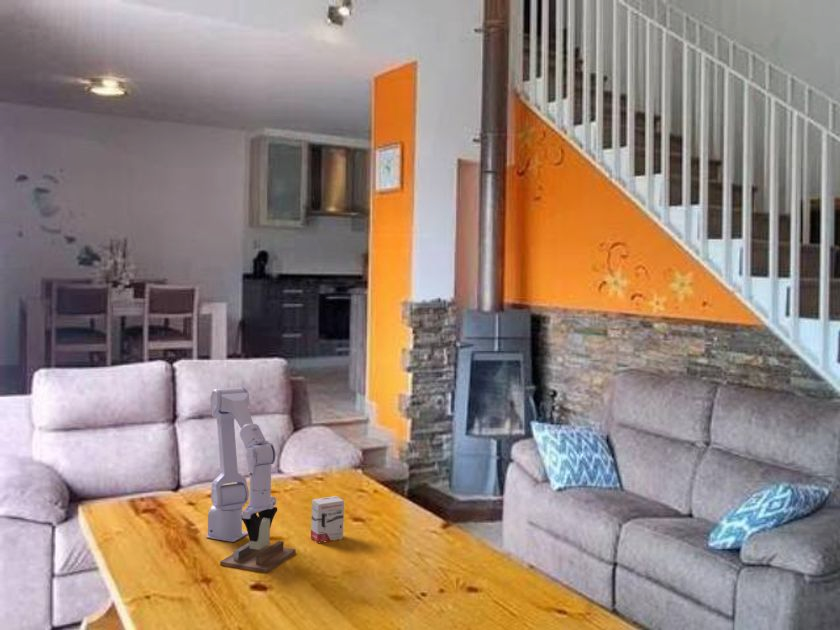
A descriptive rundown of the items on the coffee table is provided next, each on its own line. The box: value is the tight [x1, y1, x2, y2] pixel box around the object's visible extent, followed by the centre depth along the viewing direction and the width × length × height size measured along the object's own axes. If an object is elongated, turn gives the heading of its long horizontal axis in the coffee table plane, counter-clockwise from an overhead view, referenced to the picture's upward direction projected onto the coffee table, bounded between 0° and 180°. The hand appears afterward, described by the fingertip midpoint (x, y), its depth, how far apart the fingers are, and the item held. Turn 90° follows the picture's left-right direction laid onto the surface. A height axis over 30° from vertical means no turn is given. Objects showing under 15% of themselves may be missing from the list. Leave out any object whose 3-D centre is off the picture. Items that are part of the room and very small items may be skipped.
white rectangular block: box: [249, 517, 271, 550], centre depth 213 cm, size 3×6×7 cm, turn 161°
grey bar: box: [233, 541, 257, 561], centre depth 214 cm, size 2×12×2 cm, turn 161°
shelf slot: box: [219, 540, 297, 574], centre depth 213 cm, size 14×16×4 cm
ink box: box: [310, 495, 345, 544], centre depth 230 cm, size 8×5×12 cm, turn 123°
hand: (259, 537), depth 213 cm, fingers closed on white rectangular block, 5 cm apart
